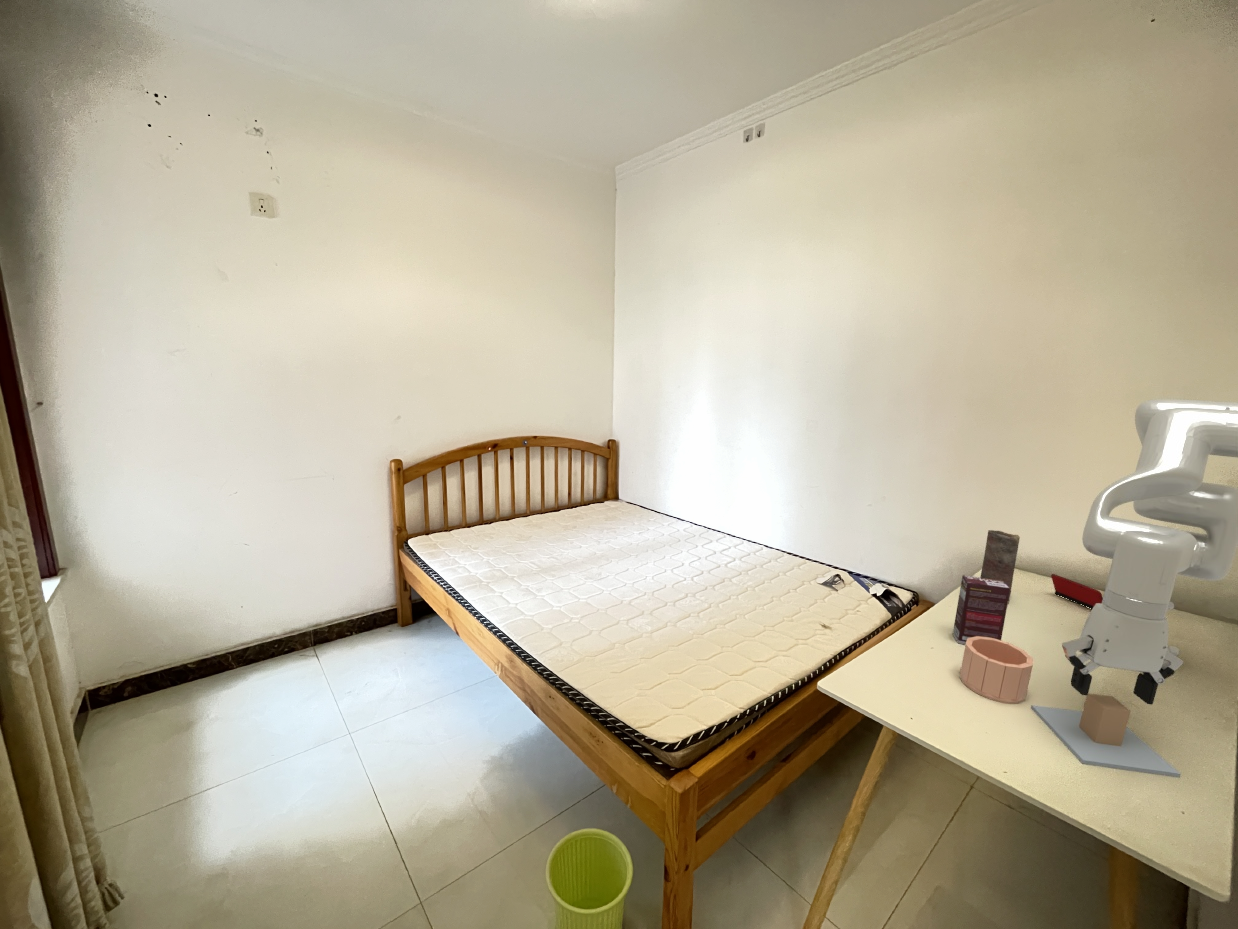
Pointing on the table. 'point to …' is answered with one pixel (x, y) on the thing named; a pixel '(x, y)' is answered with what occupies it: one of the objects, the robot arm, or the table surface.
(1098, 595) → the red slanted piece
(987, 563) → the brown stone block
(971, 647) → the bowl
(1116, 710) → the cover
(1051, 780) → the table surface
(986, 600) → the supplement box
